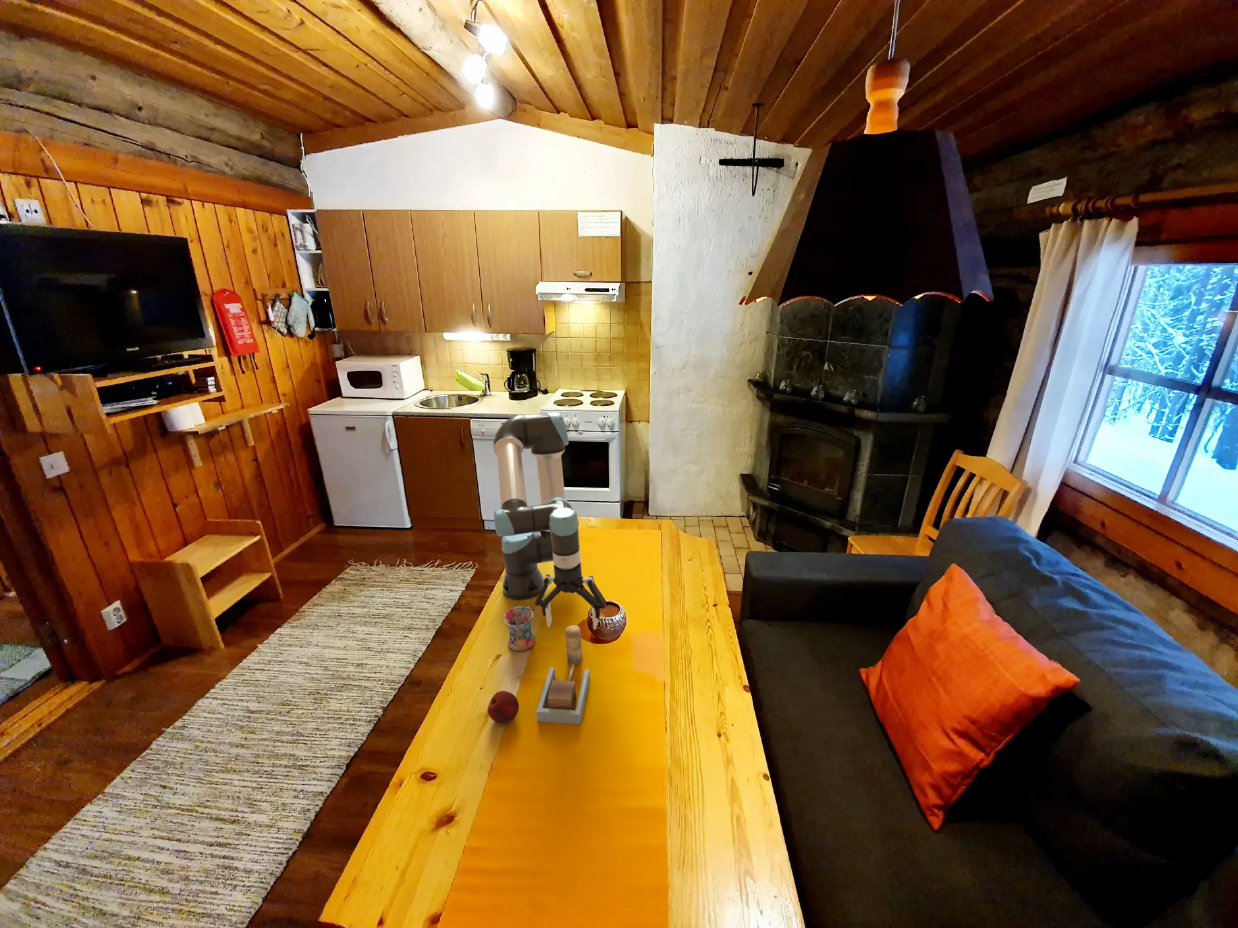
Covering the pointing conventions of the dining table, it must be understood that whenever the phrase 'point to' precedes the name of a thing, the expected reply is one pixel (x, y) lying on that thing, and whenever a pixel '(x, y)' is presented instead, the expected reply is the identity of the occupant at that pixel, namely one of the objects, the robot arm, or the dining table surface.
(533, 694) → the dining table surface
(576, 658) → the tethered block
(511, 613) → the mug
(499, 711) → the apple
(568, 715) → the grey u-shaped frame
